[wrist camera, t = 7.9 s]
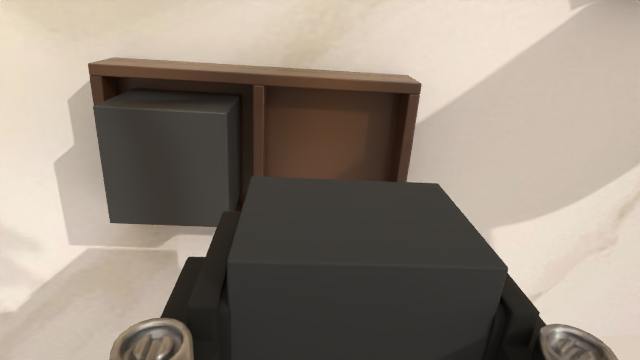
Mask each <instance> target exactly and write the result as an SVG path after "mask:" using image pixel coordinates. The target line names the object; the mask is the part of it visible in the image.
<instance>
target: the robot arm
mask: <svg viewBox="0 0 640 360" xmlns="http://www.w3.org/2000/svg"><path fill="white" fill-rule="evenodd" d="M240 214H241V212H235V211H223V213H222V216H221V218H220V221H219V223H218V226H217V229H216V231H215V234H214V236H213V239H212V242H211V244H210V247H209V250H208V252H207V255H206V257H188V259H187V260H186V263H185V265H184V267H183V269H182V271H181V273H180V276H179V278H178V280H177V282H176V284H175V287H174V289H173V291H172V293H171V295H170V298H169V300H168V302H167V304H166V306H165V309H164V311H163V313H162V315H161V317H160V318H154V319H150V320H146V321H142V322H140V323H138V324H136V325H133V326H131V327H130V328H128V329H127V330H126V331H124V332H123V333H122V334H121V335H120V336H119V337H118V338H117V339H116V341H115V342H114V344H113V347H112V349H111V353H110V359H109V360H231V320H230V309H229V308H228V287H227V259H228V256H229V252H230V249H231V246H232V242H233V239H234V235H235V232H236V228H237V225H238V221H239V218H240ZM539 313H540V312H539V311H538V310H537V309H536V307H535V306H534V305H533V304H532V303H531V301H530V300H529V299H528V298H527V296H526V295H525V294H524V293H523V292H522V290H521V289H520V288H519V287H518V285H517V284H516V283H515V282H514V280H513V279H512V278H511V277H510V276H509V274H508V273H507V275H506V279H505V283H504V286H503V290H502V293H501V297H500V301H499V304H498V308H497V312H496V313H495V315H494V318H493V322H492V326H491V329H490V333H489V337H488V340H487V344H486V348H485V351H484V355H483V358H482V360H618V359H617V357H616V356H615V354H614V353H613V352H612V350H611V349H610V348H609V347H608V346H607V345H605V344H604V343H603V342H602V341H601V340H599V339H598V338H596V337H595V336H593V335H591V334H590V333H587V332H585V331H583V330H581V329H578V328H575V327H572V326H568V325H562V324H551V325H546V324H545V323H544V322H543V320H542V319H541V318H540V317H539Z"/></svg>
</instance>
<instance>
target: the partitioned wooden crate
mask: <svg viewBox="0 0 640 360" xmlns="http://www.w3.org/2000/svg"><path fill="white" fill-rule="evenodd" d="M88 68H89V74H90V75H91V76H90V82H91V89H92V96H93V102H94V106H93V109H94V116H95V123H96V129H97V136H98V143H99V150H100V157H101V164H102V170H103V177H104V184H105V191H106V198H107V204H108V211H109V218H110V223H125V224H151V225H178V226H204V227H217V226H218V223H219V221H220V218H221V216H222V213H223V211H235V212H241V211H242V207H243V204H244V201H245V197H246V194H247V190H248V187H249V183H250V180H251V177H252V176H260V177H285V178H310V179H335V180H360V181H385V182H406V181H407V175H408V168H409V162H410V155H411V149H412V142H413V136H414V130H415V123H416V117H417V110H418V104H419V97H420V95H419V94H420V91H421V83H420V82H418V81H416V80H415V79H413V78H411V77H410V76H408V75H393V74H376V73H360V72H343V71H326V70H310V69H293V68H277V67H260V66H244V65H227V64H211V63H194V62H178V61H161V60H145V59H128V58H110V59H106V60H101V61H97V62H93V63H89V64H88Z"/></svg>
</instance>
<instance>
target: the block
mask: <svg viewBox="0 0 640 360" xmlns="http://www.w3.org/2000/svg"><path fill="white" fill-rule="evenodd" d="M507 272H508V267H507V266H506V265H505V263H504V262H503V261H502V260H501V259H500V257H499V256H498V255H497V254H496V253H495V251H494V250H493V249H492V248H491V247H490V245H489V244H488V243H487V242H486V241H485V239H484V238H483V237H482V236H481V235H480V233H479V232H478V231H477V230H476V229H475V227H474V226H473V225H472V224H471V223H470V221H469V220H468V219H467V218H466V217H465V215H464V214H463V213H462V212H461V211H460V209H459V208H458V207H457V206H456V205H455V203H454V202H453V201H452V200H451V199H450V197H449V196H448V195H447V194H446V193H445V191H444V190H443V189H442V188H441V187H440V185H439V184H434V183H410V182H385V181H360V180H335V179H310V178H285V177H260V176H252V177H251V180H250V183H249V187H248V190H247V194H246V197H245V201H244V204H243V207H242V211H241V214H240V218H239V221H238V225H237V228H236V232H235V235H234V239H233V242H232V246H231V249H230V252H229V256H228V259H227V287H228V308H229V309H230V320H231V360H482V358H483V355H484V351H485V348H486V344H487V340H488V337H489V333H490V329H491V326H492V322H493V318H494V315H495V313H496V312H497V308H498V304H499V301H500V297H501V293H502V290H503V286H504V283H505V279H506V275H507Z"/></svg>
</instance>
